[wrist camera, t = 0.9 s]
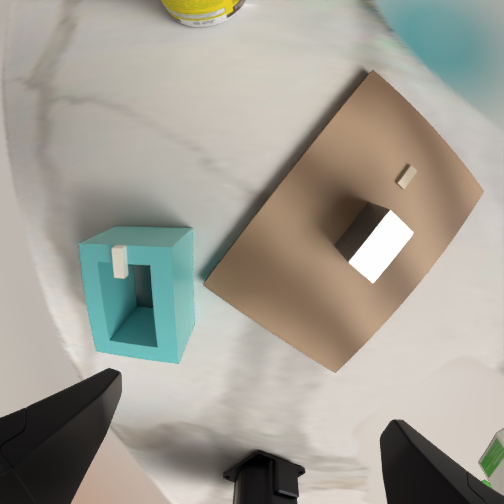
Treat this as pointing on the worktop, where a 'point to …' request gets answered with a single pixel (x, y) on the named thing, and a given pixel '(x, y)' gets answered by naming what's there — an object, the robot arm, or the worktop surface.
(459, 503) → the robot arm
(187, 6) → the supplement bottle
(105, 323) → the teal hollow block
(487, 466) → the skincare box
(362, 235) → the grey rectangular block
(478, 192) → the base plate
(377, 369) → the worktop surface
